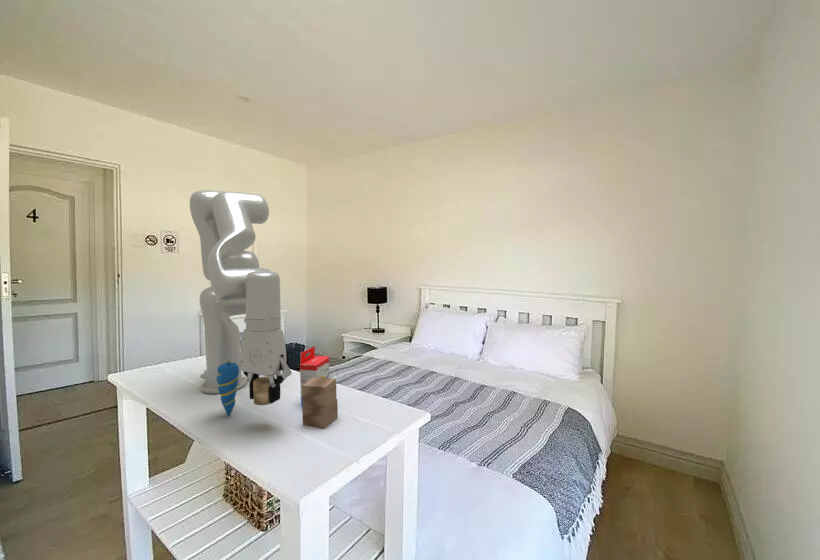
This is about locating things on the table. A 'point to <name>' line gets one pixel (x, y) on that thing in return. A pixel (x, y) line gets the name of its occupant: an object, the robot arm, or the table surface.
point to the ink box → (312, 367)
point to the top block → (319, 392)
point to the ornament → (228, 384)
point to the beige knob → (261, 390)
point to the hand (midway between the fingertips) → (265, 398)
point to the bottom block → (320, 415)
